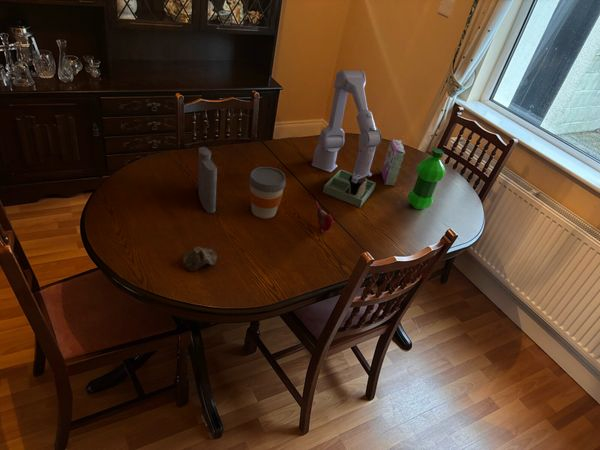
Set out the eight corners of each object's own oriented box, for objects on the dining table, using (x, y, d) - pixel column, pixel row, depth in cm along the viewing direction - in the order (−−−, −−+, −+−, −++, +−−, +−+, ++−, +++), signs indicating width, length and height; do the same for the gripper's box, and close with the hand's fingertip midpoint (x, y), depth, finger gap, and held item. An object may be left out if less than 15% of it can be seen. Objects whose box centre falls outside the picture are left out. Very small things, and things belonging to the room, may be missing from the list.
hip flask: (216, 212, 157) (218, 163, 145) (204, 214, 155) (205, 164, 143) (206, 188, 168) (207, 140, 156) (195, 189, 166) (195, 140, 154)
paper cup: (345, 196, 175) (350, 179, 170) (351, 190, 179) (355, 173, 175) (359, 201, 173) (363, 184, 169) (364, 195, 178) (369, 178, 173)
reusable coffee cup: (276, 224, 156) (281, 189, 147) (241, 216, 157) (245, 180, 148) (284, 205, 166) (289, 171, 157) (252, 198, 167) (255, 163, 158)
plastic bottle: (402, 206, 178) (421, 151, 163) (409, 195, 186) (428, 141, 171) (426, 216, 175) (448, 160, 160) (432, 204, 183) (454, 150, 168)
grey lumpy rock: (214, 246, 139) (182, 252, 137) (214, 239, 132) (179, 246, 130) (219, 269, 136) (186, 276, 134) (218, 263, 130) (184, 271, 128)
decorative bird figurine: (323, 244, 151) (328, 220, 146) (309, 213, 165) (313, 190, 159) (331, 243, 152) (337, 220, 146) (316, 213, 166) (321, 190, 160)
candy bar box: (380, 171, 198) (390, 138, 189) (391, 173, 199) (402, 140, 189) (383, 185, 189) (394, 150, 180) (395, 186, 190) (406, 152, 180)
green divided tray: (322, 192, 178) (324, 185, 175) (338, 176, 190) (340, 169, 188) (360, 207, 173) (362, 200, 171) (373, 189, 185) (376, 182, 183)
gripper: (367, 171, 160) (359, 202, 168) (380, 157, 171) (371, 186, 179) (349, 165, 162) (342, 195, 170) (363, 150, 173) (355, 180, 181)
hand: (356, 190), depth 175 cm, fingers closed on paper cup, 6 cm apart
